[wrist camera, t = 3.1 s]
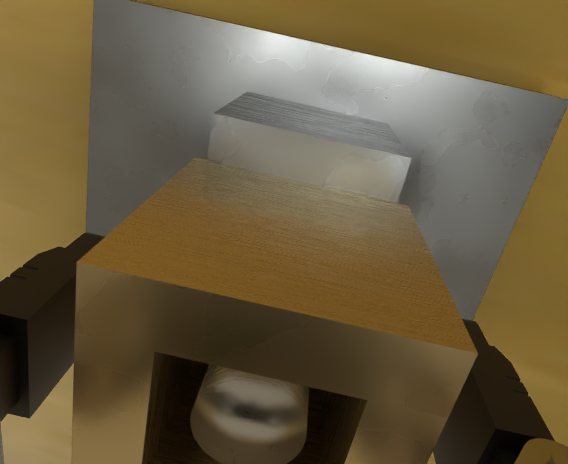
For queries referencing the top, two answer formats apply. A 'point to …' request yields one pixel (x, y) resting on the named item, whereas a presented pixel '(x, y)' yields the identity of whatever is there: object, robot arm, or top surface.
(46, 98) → the top surface
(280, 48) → the gray base plate
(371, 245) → the collar
